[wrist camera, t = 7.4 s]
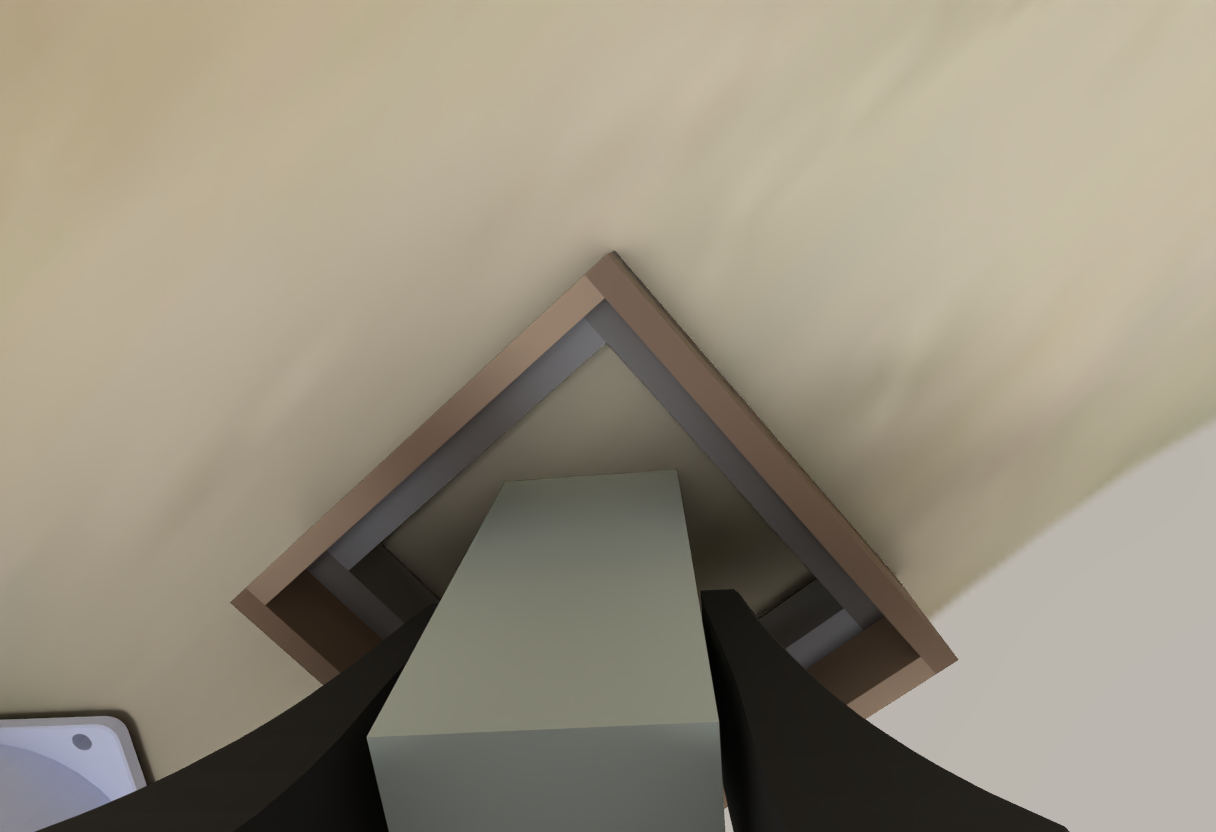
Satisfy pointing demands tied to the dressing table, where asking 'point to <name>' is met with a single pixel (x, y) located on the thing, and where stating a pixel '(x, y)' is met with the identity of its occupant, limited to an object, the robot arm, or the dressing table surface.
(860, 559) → the bore box
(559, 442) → the dressing table surface
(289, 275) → the dressing table surface
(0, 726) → the robot arm
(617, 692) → the sage peg
